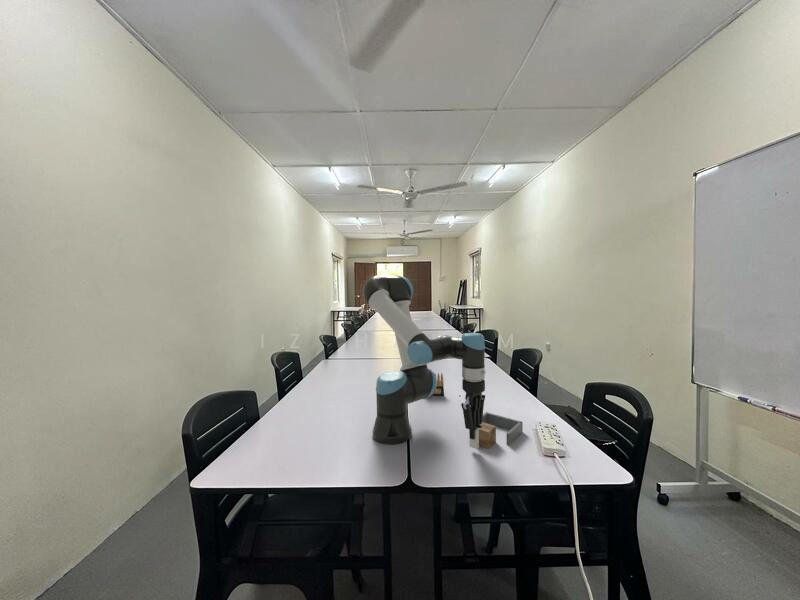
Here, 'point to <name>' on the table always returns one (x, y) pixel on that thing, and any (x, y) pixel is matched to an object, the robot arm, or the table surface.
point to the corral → (505, 425)
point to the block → (487, 435)
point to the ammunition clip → (439, 386)
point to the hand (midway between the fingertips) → (474, 446)
